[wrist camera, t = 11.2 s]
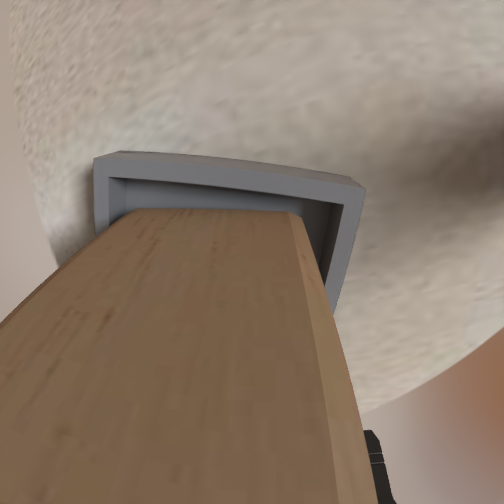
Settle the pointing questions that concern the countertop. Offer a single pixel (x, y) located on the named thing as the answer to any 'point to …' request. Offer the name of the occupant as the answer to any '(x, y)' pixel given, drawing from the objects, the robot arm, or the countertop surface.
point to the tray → (235, 197)
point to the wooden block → (181, 371)
